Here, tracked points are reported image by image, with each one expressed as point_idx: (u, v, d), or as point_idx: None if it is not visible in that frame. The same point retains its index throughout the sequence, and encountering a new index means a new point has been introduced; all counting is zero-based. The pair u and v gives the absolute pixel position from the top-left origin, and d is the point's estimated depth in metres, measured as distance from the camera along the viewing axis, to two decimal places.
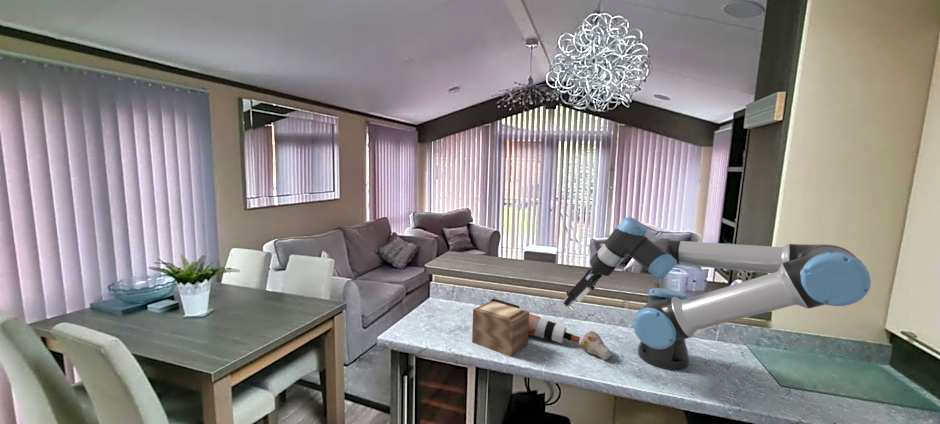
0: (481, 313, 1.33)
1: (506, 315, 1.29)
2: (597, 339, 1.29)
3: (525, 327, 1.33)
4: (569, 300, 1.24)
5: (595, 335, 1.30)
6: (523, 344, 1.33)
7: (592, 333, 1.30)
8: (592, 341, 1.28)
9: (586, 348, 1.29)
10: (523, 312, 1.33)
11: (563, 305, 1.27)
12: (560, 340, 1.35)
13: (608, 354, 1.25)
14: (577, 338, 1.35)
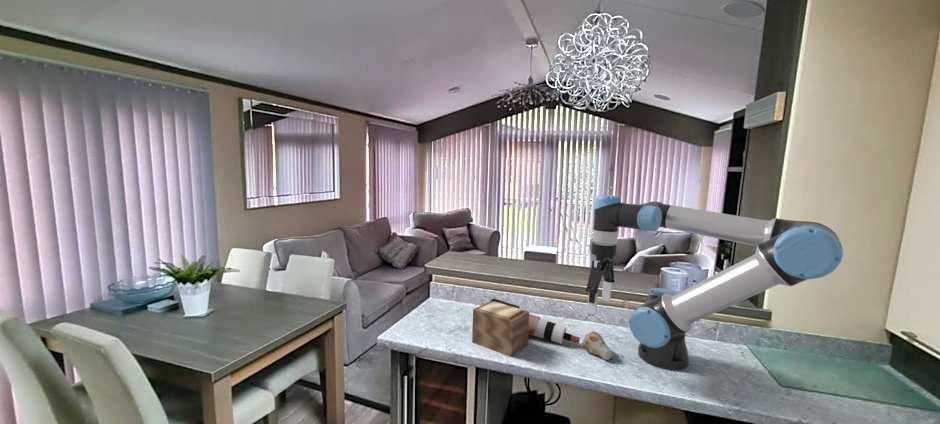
0: (481, 313, 1.33)
1: (506, 315, 1.29)
2: (598, 339, 1.29)
3: (525, 327, 1.33)
4: (592, 296, 1.21)
5: (597, 335, 1.30)
6: (523, 344, 1.33)
7: (594, 333, 1.30)
8: (594, 341, 1.28)
9: (588, 348, 1.29)
10: (523, 312, 1.33)
11: (590, 305, 1.22)
12: (560, 340, 1.35)
13: (609, 354, 1.25)
14: (577, 338, 1.35)
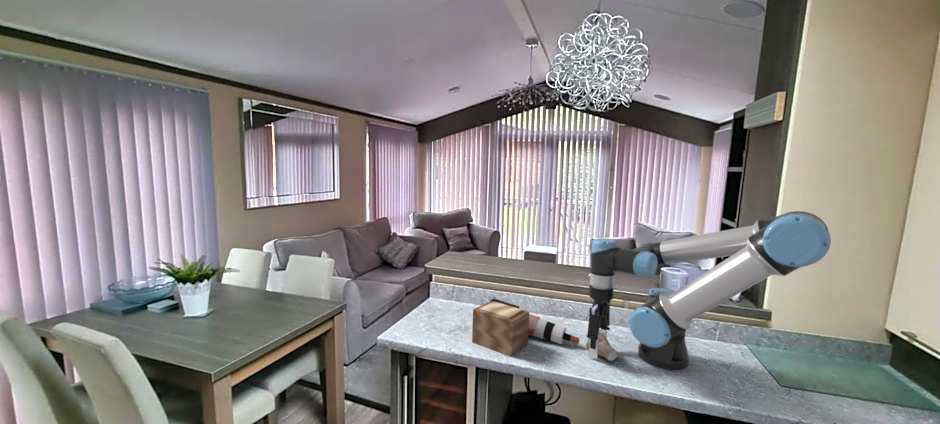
0: (481, 313, 1.33)
1: (506, 315, 1.29)
2: (603, 339, 1.27)
3: (525, 327, 1.33)
4: (593, 342, 1.24)
5: (601, 336, 1.28)
6: (523, 344, 1.33)
7: (598, 334, 1.28)
8: None
9: None
10: (523, 312, 1.33)
11: (592, 350, 1.26)
12: (559, 341, 1.35)
13: (614, 355, 1.23)
14: (576, 339, 1.34)
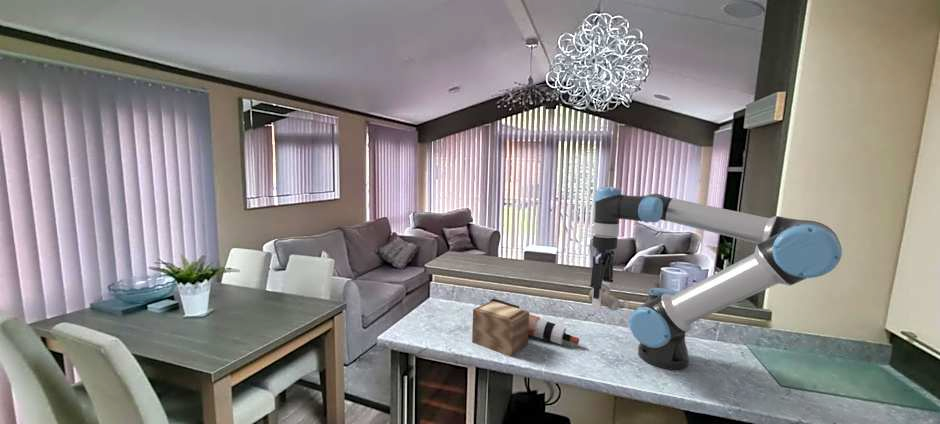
0: (481, 313, 1.33)
1: (506, 315, 1.29)
2: (606, 290, 1.25)
3: (525, 327, 1.33)
4: (596, 291, 1.22)
5: (604, 286, 1.26)
6: (523, 344, 1.33)
7: None
8: None
9: None
10: (523, 312, 1.33)
11: (595, 300, 1.24)
12: (559, 341, 1.35)
13: (617, 304, 1.21)
14: (576, 339, 1.34)
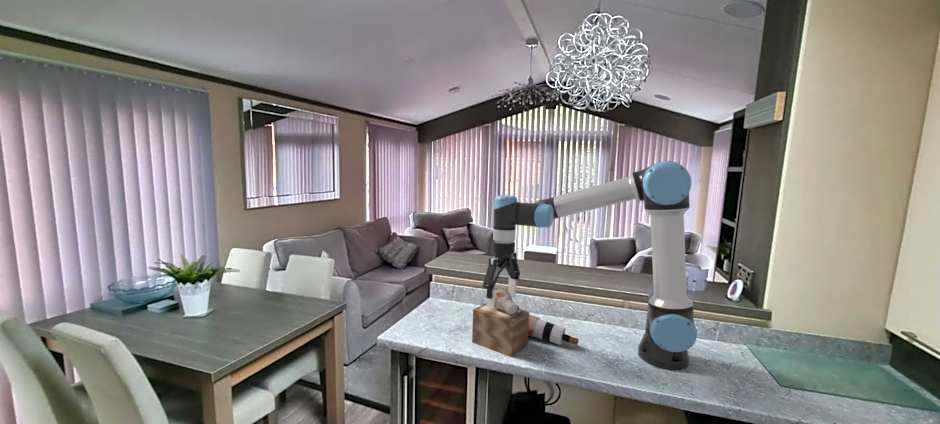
0: (481, 313, 1.33)
1: (506, 315, 1.29)
2: (505, 295, 1.31)
3: (525, 327, 1.33)
4: (489, 291, 1.26)
5: (504, 291, 1.32)
6: (523, 344, 1.33)
7: (501, 290, 1.33)
8: (500, 296, 1.31)
9: (495, 304, 1.32)
10: (523, 312, 1.33)
11: (489, 300, 1.28)
12: (558, 341, 1.34)
13: (513, 308, 1.28)
14: (575, 340, 1.33)
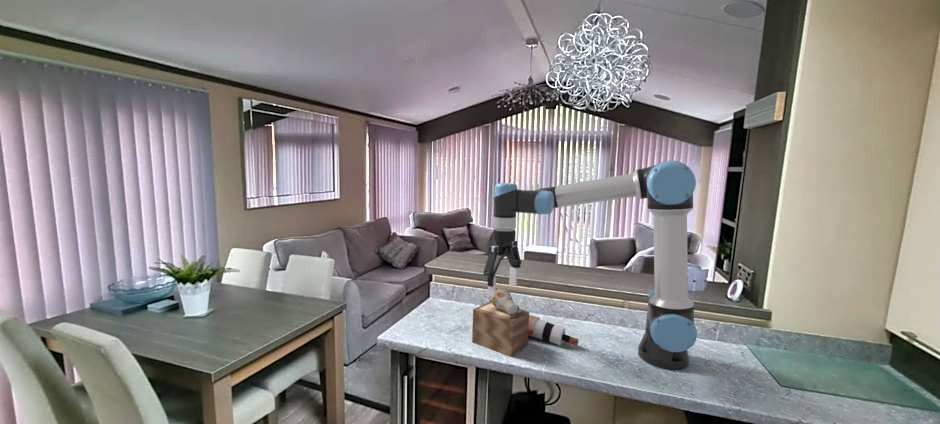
0: (481, 313, 1.33)
1: (506, 315, 1.29)
2: (505, 295, 1.31)
3: (525, 327, 1.33)
4: (490, 279, 1.26)
5: (504, 291, 1.32)
6: (523, 344, 1.33)
7: (502, 290, 1.33)
8: (500, 296, 1.31)
9: (495, 304, 1.32)
10: (523, 312, 1.33)
11: (490, 288, 1.28)
12: (558, 342, 1.34)
13: (513, 308, 1.28)
14: (575, 340, 1.33)
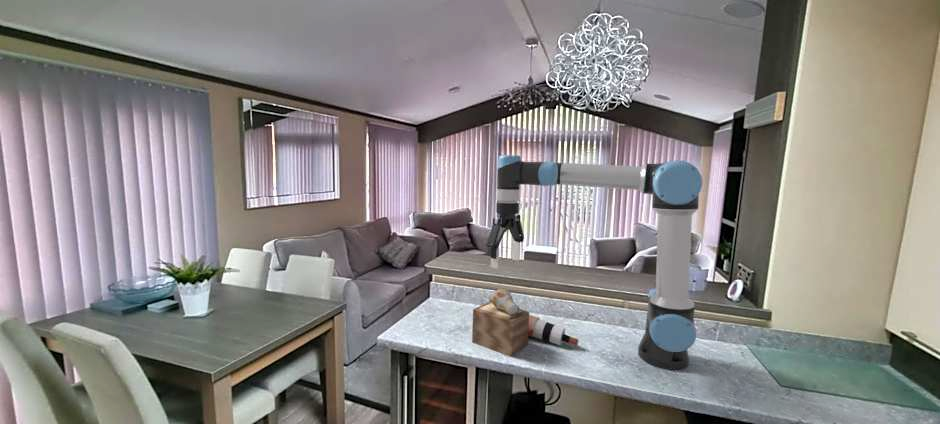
0: (481, 313, 1.33)
1: (506, 315, 1.29)
2: (505, 295, 1.31)
3: (525, 327, 1.33)
4: (493, 251, 1.25)
5: (505, 291, 1.32)
6: (523, 344, 1.33)
7: (502, 290, 1.33)
8: (501, 296, 1.31)
9: (495, 304, 1.32)
10: (523, 312, 1.33)
11: (493, 260, 1.27)
12: (558, 342, 1.34)
13: (514, 309, 1.28)
14: (575, 340, 1.33)
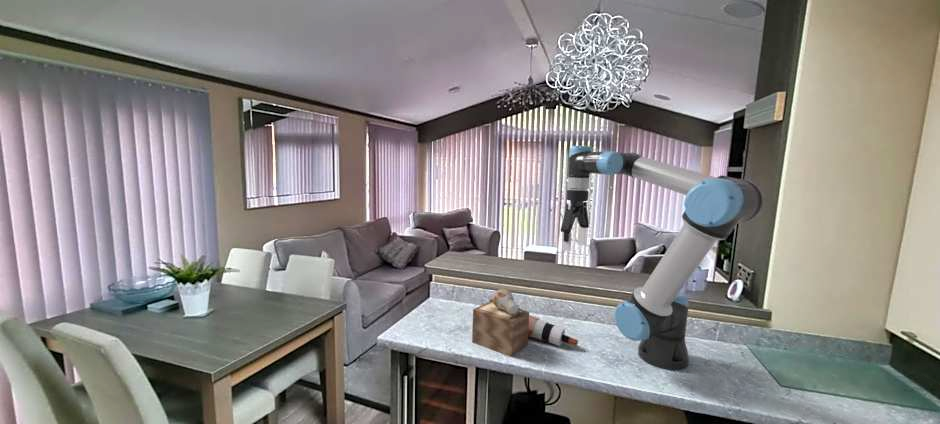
0: (481, 313, 1.33)
1: (506, 315, 1.29)
2: (506, 295, 1.31)
3: (525, 327, 1.33)
4: (566, 235, 1.35)
5: (505, 291, 1.32)
6: (523, 344, 1.33)
7: (503, 289, 1.33)
8: (501, 296, 1.31)
9: (496, 304, 1.32)
10: (523, 312, 1.33)
11: (565, 244, 1.36)
12: (557, 342, 1.34)
13: (514, 309, 1.28)
14: (575, 341, 1.33)
